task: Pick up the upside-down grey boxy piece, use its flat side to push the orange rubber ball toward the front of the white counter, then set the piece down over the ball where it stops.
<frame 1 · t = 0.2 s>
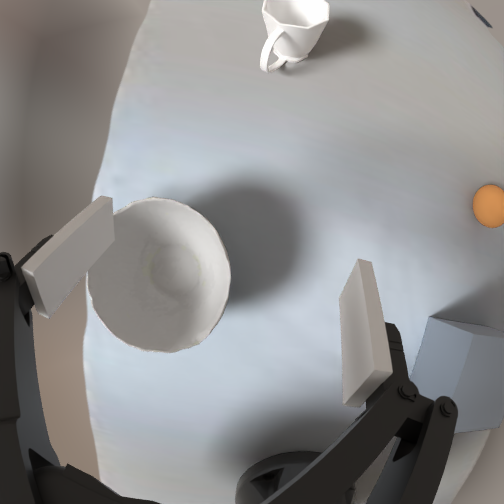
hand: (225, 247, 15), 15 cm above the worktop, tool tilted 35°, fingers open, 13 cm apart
grey boxy piece: (448, 362, 30), on the worktop
ball: (491, 206, 27), on the worktop
cup: (285, 57, 31), on the worktop
teacup: (169, 263, 31), on the worktop
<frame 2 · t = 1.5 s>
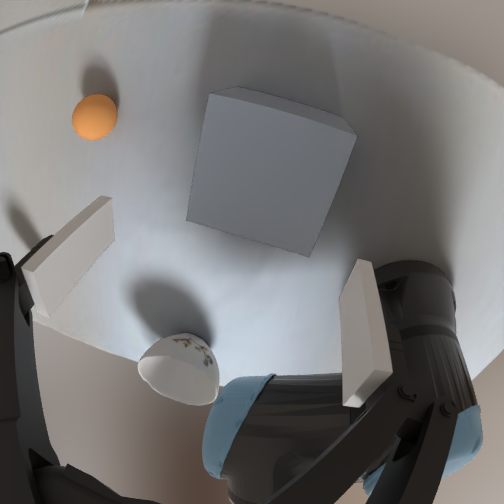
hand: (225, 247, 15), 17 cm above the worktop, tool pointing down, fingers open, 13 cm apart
grey boxy piece: (276, 149, 29), on the worktop
ball: (94, 117, 27), on the worktop
teacup: (188, 346, 48), on the worktop
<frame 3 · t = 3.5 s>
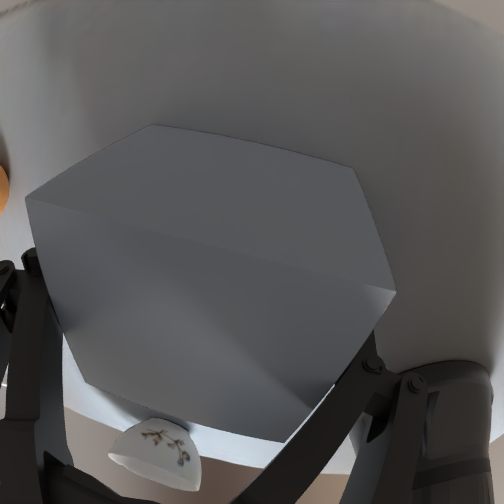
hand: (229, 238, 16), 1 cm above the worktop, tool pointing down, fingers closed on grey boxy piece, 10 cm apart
grey boxy piece: (232, 230, 17), on the worktop, touching gripper
teacup: (165, 427, 37), on the worktop
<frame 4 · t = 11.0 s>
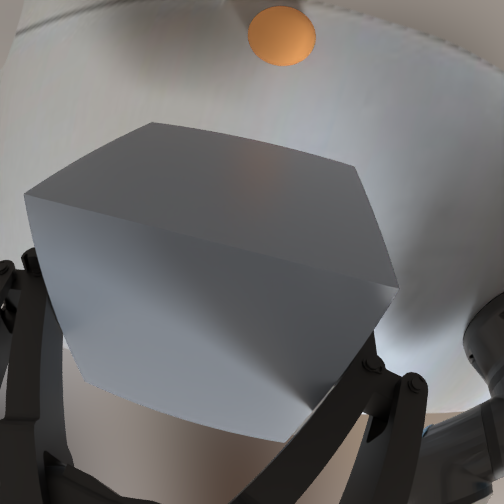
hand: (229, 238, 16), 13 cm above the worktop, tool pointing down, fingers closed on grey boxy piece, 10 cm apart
grey boxy piece: (233, 229, 17), point 13 cm above the worktop, touching gripper
ball: (281, 35, 18), on the worktop
when the fingers open (1 cm above the worktop, at t = 16.0 s): grey boxy piece stays where it is, on the worktop.
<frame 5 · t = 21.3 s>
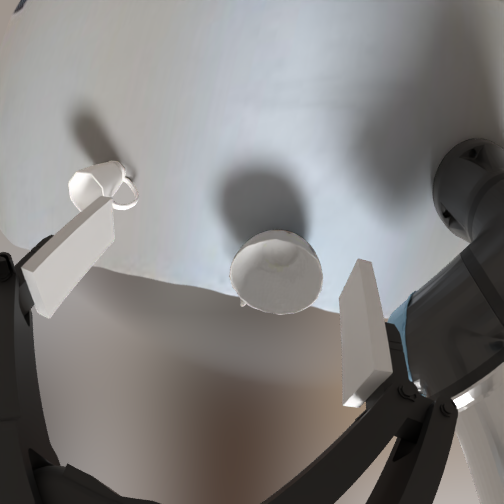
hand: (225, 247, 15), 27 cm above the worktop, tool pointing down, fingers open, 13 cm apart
cup: (122, 176, 44), on the worktop
teacup: (276, 252, 48), on the worktop
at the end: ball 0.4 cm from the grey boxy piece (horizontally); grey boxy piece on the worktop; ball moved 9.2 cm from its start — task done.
